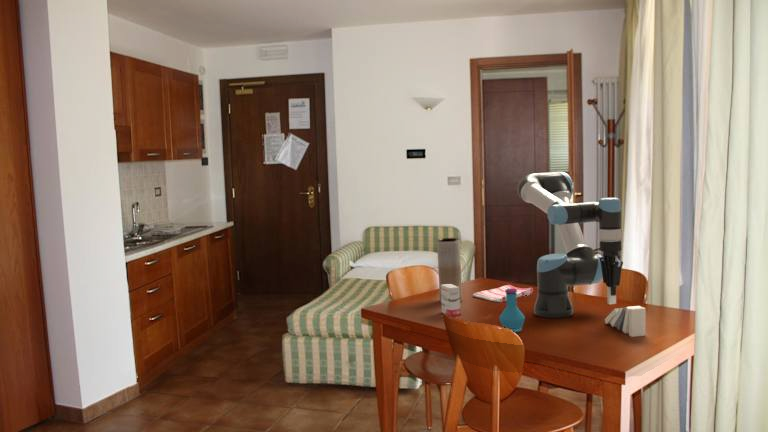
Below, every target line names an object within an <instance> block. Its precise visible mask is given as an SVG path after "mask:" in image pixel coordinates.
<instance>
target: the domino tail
mask: <svg viewBox="0 0 768 432" xmlns="http://www.w3.org/2000/svg"><path fill="white" fill-rule="evenodd" d="M646 315H647V314H646V307H643V306H641V307H637V308H629V333H628V335H629V336H630V338H633V337H634V338H635V337H643V336H646Z"/></svg>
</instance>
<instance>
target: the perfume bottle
mask: <svg viewBox="0 0 768 432" xmlns="http://www.w3.org/2000/svg"><path fill="white" fill-rule="evenodd" d="M505 292H506V298H507V301H506V307H505V308H504V310H503V311H502V312H501V314H500V316H499V318H498V319H499V321H500V324H501V326H502V327H503V328H504V327H506V328H509V329H512V330H513V331H514V332H513V333H517V332H521V331H522V328H523V327H524V323H525V319H526V316H525V315H524V313H523V312H522V311H521V310H520V309H519V307H518V306H517V298H516V294H517V293H516V292H517V290H516V289H512V288H511V289H506V290H505Z"/></svg>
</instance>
